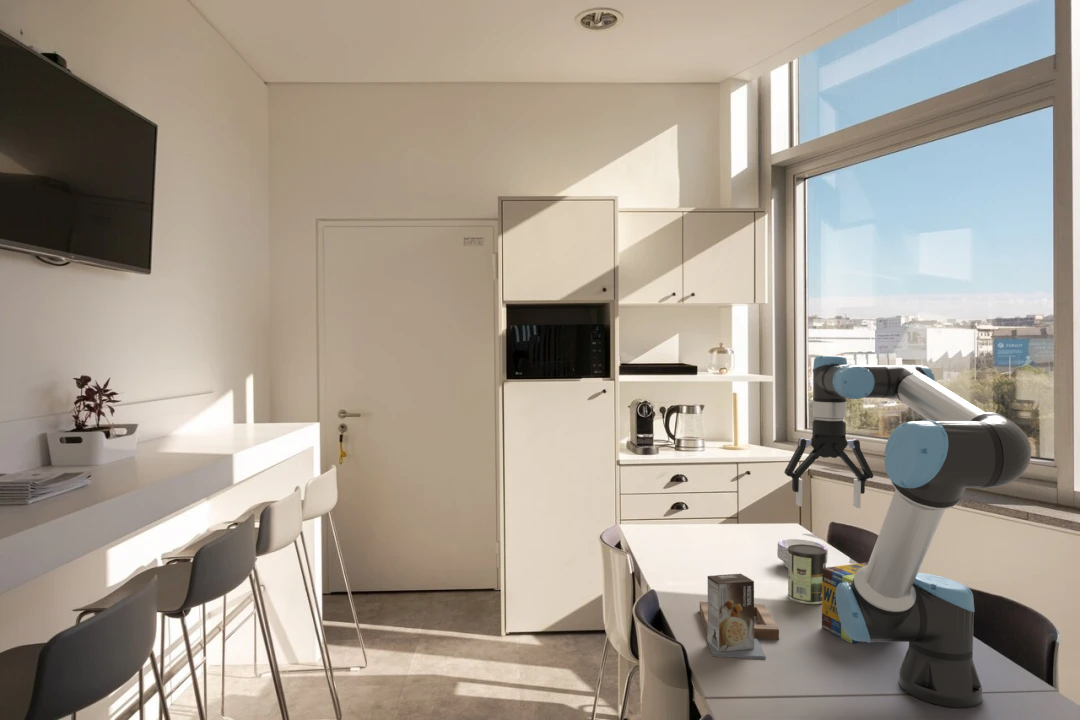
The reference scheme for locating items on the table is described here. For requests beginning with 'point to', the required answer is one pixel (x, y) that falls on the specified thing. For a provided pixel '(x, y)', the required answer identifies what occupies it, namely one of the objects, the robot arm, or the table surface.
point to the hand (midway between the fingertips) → (827, 506)
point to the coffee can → (805, 573)
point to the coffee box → (730, 612)
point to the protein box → (829, 585)
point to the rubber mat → (741, 652)
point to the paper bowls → (786, 543)
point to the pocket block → (762, 631)
